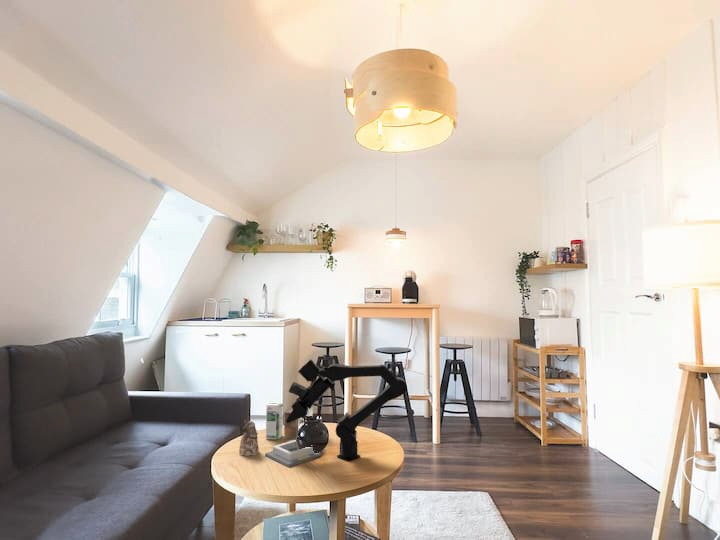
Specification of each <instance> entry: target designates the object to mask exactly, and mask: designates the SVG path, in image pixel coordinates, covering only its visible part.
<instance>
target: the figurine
mask: <svg viewBox="0 0 720 540" xmlns="http://www.w3.org/2000/svg"><path fill="white" fill-rule="evenodd" d="M243 423H244V426H243V428H242V436H241V439H240V444H239V449H238V451H239V455H240V454H241V455H240V456H242V455H244V456H243V457H249V455H252V456H256V455H257V454H258V453H259V442H258V432H257V427H256V423H255V422H254V421H252V420H249V421H247V420H244V421H243Z"/></svg>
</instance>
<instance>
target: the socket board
mask: <svg viewBox="0 0 720 540" xmlns="http://www.w3.org/2000/svg"><path fill="white" fill-rule="evenodd" d="M296 440H297V439H296ZM296 440H289V441H287V442H283V443H280V444H277V445H274V446H272V451H269V452H265V453H264V456H265V458H266V457H267V458H268V459H270V460H273V461H274V462H276V463H278V464H281V465H283V466H285V467H287V468H290V467H293V466H296V465H300V464H301V463H305V462H308V461H311V460H314V459H315V458H319V457H321V456H322V453H321V452H319V453H314V451H315V450H314V451H313V447H305V448H302V449H299V447H298V445H297V442H296Z"/></svg>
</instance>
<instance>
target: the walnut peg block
mask: <svg viewBox="0 0 720 540" xmlns="http://www.w3.org/2000/svg"><path fill="white" fill-rule="evenodd" d="M284 411H285V412H283V417H284V418H283V422H284V423H283V425H284V426H283V428H284V430H283V432H284V433H283V435H284V436H283V437H284V439H283V440H284V441H293V440H298V438H299V436H298V429H299V425H298V419H296V420H294V421H291V422H289V423H287V422H286V420H287V418H288V417H289V415H290V414H291V412H292V411H293V408H292V409H286V410H284Z"/></svg>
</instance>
